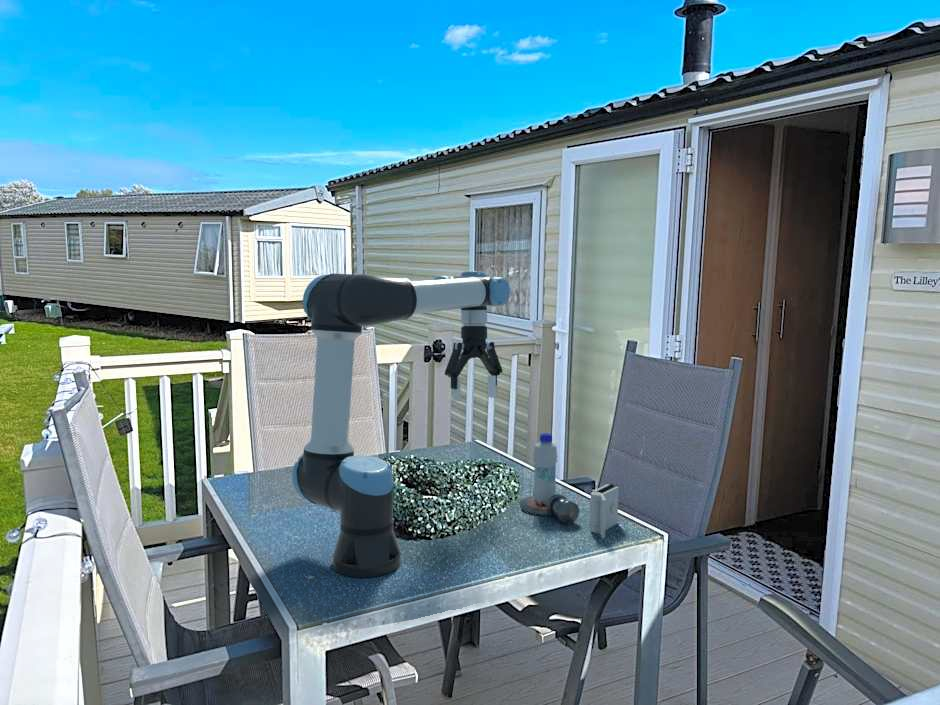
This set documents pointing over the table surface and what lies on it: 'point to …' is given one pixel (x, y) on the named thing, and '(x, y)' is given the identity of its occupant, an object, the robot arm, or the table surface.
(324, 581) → the table surface
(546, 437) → the bottle
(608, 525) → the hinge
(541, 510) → the fitting
